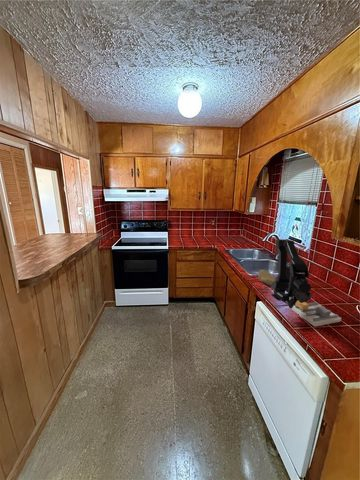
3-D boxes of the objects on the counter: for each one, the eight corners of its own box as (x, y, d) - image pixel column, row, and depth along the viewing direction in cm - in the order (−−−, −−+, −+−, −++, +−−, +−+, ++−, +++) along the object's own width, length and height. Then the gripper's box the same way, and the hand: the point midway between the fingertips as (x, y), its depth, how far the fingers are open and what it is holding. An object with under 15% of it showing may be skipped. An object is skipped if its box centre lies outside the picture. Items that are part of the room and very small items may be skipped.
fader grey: (315, 313, 111) (316, 307, 110) (320, 312, 112) (322, 306, 111) (323, 319, 106) (324, 312, 105) (329, 318, 107) (330, 311, 106)
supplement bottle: (287, 278, 159) (290, 264, 156) (292, 282, 152) (295, 268, 149) (279, 278, 159) (281, 264, 156) (284, 282, 152) (286, 268, 149)
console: (291, 308, 119) (291, 304, 118) (314, 305, 123) (315, 300, 122) (314, 326, 104) (315, 321, 103) (340, 321, 108) (342, 316, 107)
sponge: (256, 276, 164) (257, 282, 145) (259, 268, 163) (260, 272, 144) (272, 282, 160) (276, 288, 141) (275, 273, 159) (279, 278, 140)
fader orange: (295, 306, 117) (296, 300, 116) (300, 305, 118) (301, 299, 117) (302, 311, 112) (303, 305, 111) (307, 310, 113) (308, 304, 112)
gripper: (292, 292, 99) (287, 319, 103) (321, 288, 103) (316, 314, 107) (277, 282, 109) (273, 307, 113) (304, 279, 114) (299, 303, 118)
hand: (290, 308), depth 113 cm, fingers closed
